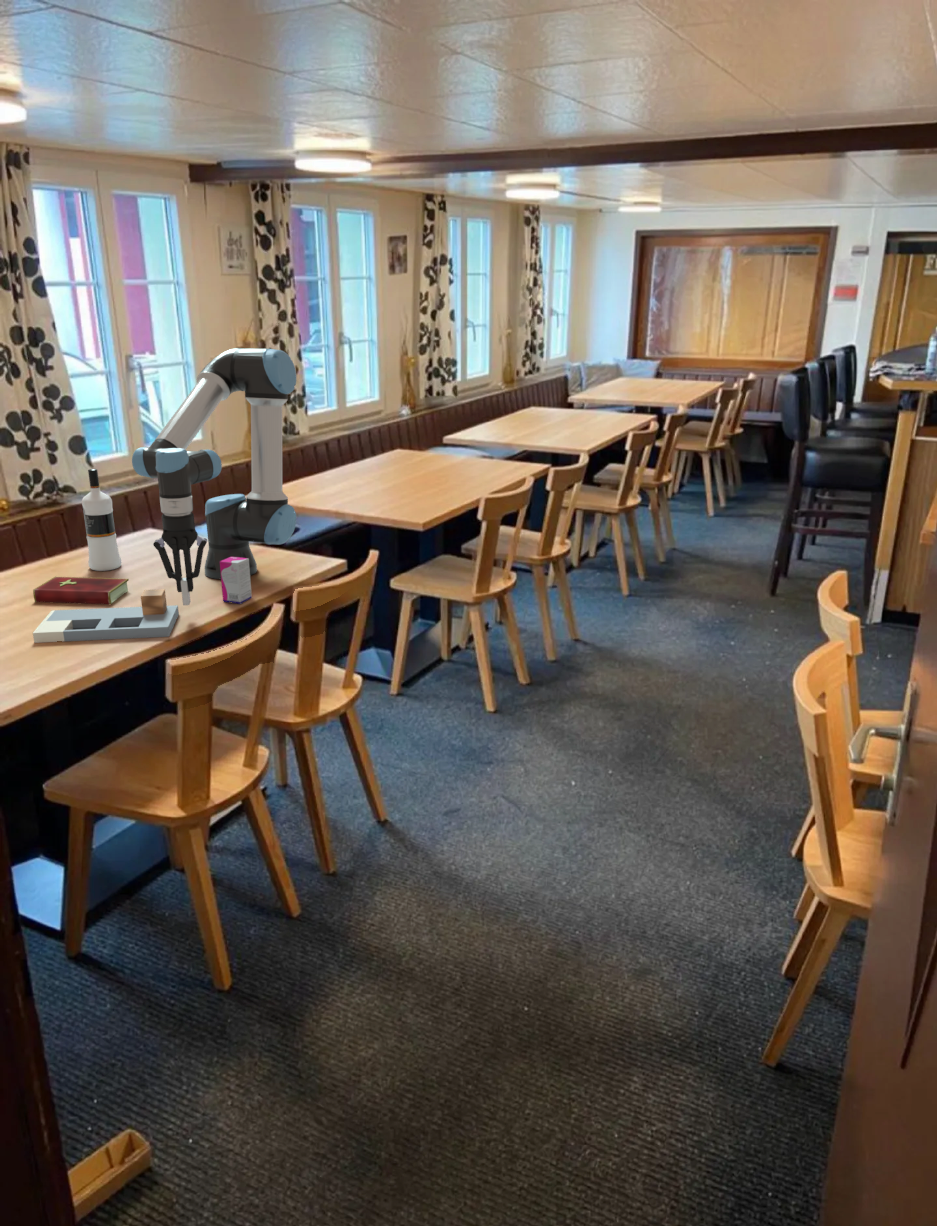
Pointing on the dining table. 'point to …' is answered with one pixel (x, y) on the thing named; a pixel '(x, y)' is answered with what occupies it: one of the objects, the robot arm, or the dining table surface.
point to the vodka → (100, 527)
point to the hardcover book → (81, 590)
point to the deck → (104, 624)
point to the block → (153, 602)
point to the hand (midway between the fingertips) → (186, 603)
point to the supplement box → (235, 580)
